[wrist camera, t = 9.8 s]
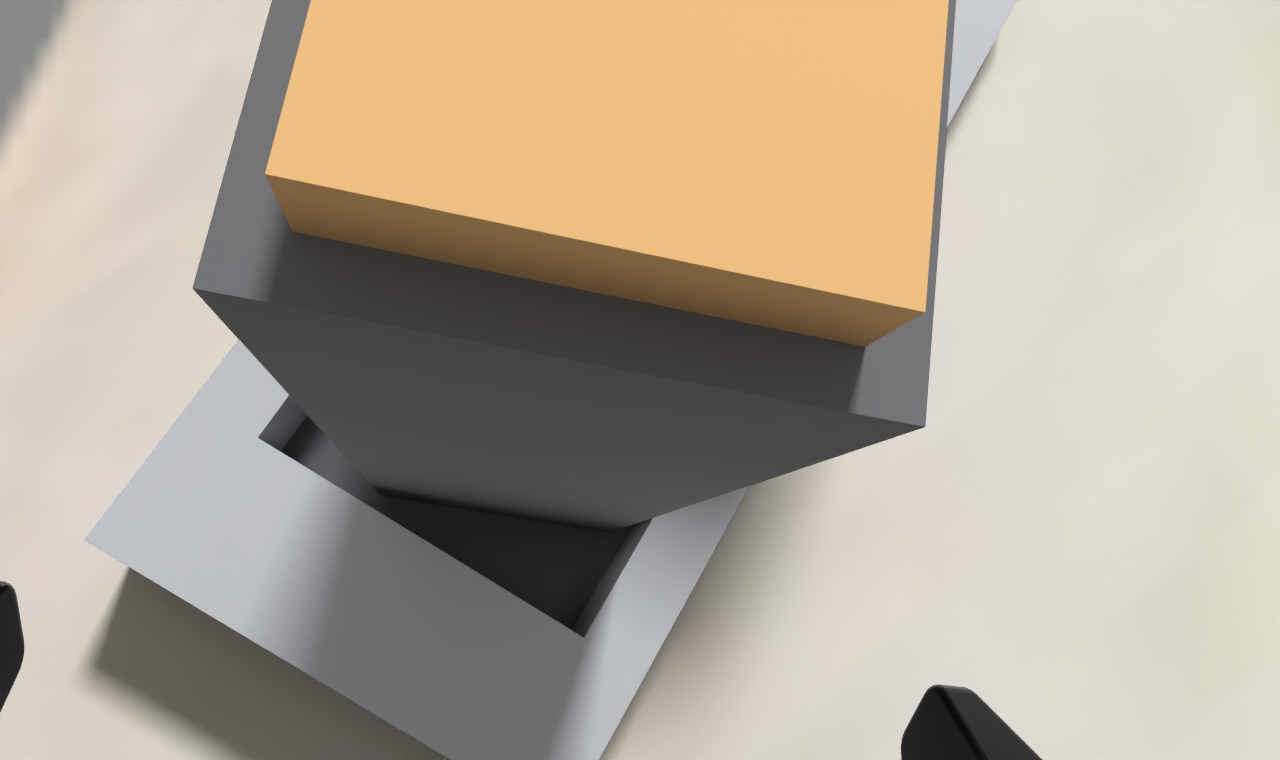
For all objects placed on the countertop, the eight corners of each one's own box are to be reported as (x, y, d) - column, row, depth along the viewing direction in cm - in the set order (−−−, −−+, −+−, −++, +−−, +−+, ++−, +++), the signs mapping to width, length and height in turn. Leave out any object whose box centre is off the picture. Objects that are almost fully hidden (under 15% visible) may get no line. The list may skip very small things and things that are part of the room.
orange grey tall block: (609, 532, 18) (994, 403, 5) (380, 495, 18) (148, 237, 4) (641, 318, 19) (1028, -241, 6) (426, 275, 19) (350, -454, 6)
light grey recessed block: (547, 794, 18) (561, 827, 15) (136, 546, 17) (84, 540, 15) (1002, -16, 24) (1063, -84, 21) (706, -214, 23) (735, -306, 21)
